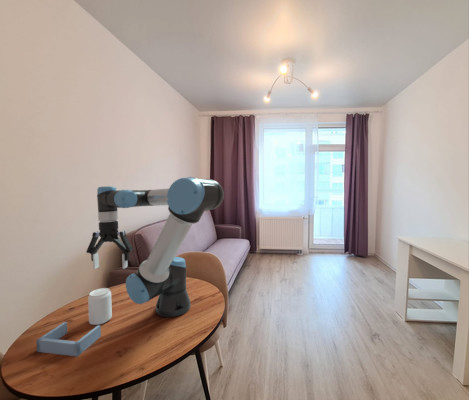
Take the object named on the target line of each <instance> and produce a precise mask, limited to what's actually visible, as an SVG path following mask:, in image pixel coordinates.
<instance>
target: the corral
mask: <svg viewBox="0 0 469 400" xmlns="http://www.w3.org/2000/svg"><path fill="white" fill-rule="evenodd" d="M101 328H102V327H101V324H99V325H95V327H94V328H93V329H91V330H90V331H88V332H87V333H86V334H85V335H83V336H82V337H81V338H80V339H78V340H77V341H75V340H66V339H61V338H62V337H64V336H65V335H66V334H67V333H68V322H65V321H64V322H62V323H61V324H59V325H57V326H56V327H55V328H53V329H51V330H50V331H48V332H46V333H45V334H44V335H42V336H40V337H39V338H37V339H36V340H35V341H36V342H35V343H36V352H37V353H47V354H52V355H53V354H54V355H62V356H71V357H77V358H78V357H79V356H80V355H81V354H82V353H83V352H85V351H86V350H87V349H88V348H89V347H91V346H92V345H93V344H94V343H95V342H96V341H97V340H99V339H100V338H101V337H102V330H101Z"/></svg>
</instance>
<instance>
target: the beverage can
mask: <svg viewBox="0 0 469 400" xmlns="http://www.w3.org/2000/svg"><path fill="white" fill-rule="evenodd" d="M87 301H88V303H87V305H88V306H87V307H88V308H87V309H88V323H89V324H90V325H93V326H97V325H103V324H105V323H106V322H108V321H109V320H111V319H112V317H113V310H112V309H113V308H112V307H113V305H112V291H111V289H110V288H107V287H102V288H97V289H94V290H92V291H90V292H89V295H88V297H87Z"/></svg>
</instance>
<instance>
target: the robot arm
mask: <svg viewBox="0 0 469 400" xmlns="http://www.w3.org/2000/svg"><path fill="white" fill-rule="evenodd" d="M96 189H97V192H96V199H97V200H96V201H97V212H98V213H97V217H98V219H97V220H98V230H99V231H94V232H92V235H91V236H92V237H91V240H90V242H89V245H88V247H87V248H86V254H90V258H91V261H92V268H93V270H95V269H97V268H99V267H100V261H99V260H100V259H99V258H100V257H99V256H100V255H99V252H98V251H99V250H100V248H101V247H102V246H103V244H104V243H107V242H109V243H114V244H115V245H116V246H117V247H118V248H119V250H120V251H121V252H122V254H121V259H122V261H121V263H122V270H123V269H124V270H125V269H126V268H128V266H129V265H128V261H129V259H130V253H131V252H132V251H134V248H133V246H132V244H131V243H130V241H129V239H128V236H127V234H126V231H125V230H122V231H119V221H118V219H119V215H118V209H129V208H139V207H153V206H154V207H155V206H157V207H158V206H167V209H168V212H169V215H168V217H167V219H166V220H165V222H164V225H163V226H162V227H163V228H162V229H161V231H160V233H159V235H158V238H157V239H156V241H155V244H154V246H153V247H152V250H151V252H150V254H149V256H148V258H147V259H145V260H143V261H142V262H141V263H140V264H139V266H138V269H137V270H136V272H134V273H131V274H130V275H128V276H127V277H126V279H125V290H126V293H127V294H128V297H129V299H130V300H131V301H132V302H133V303H135V304H139V305H143V304H145V303H147V302H149V301H151V300H152V299H154V298H157V297H158V298H157V300H156V303H155V313H156V315H158V316H159V317H163V318H175V317H178V316H181V315H183V314H186V313H187V312H188V311H190V309H191V299H190V296H189V293H188V291H187V264H186V259H185V258H183V257H181V256H177V254H178V251H179V250H180V247H181V246H182V243H183V242H184V241H185V239H186V237H187V235H188V233H189V231H190V229H191V227H192V225H194V224H197V223H199V222H200V221H201V220H200V219H201V218H202V216H203V214H204V213H205V212H206V211H207V212H208V211H211V210H215V209H217V208H218V207H220V205H221V204H222V203H223V201H224V199H225V191H224V189H223V187H222V185H221V184H220V183H219V182H218V181H216V180H214V179H210V178H199V177H192V176H188V177H187V176H186V177H181V178H178V179H176V180H175V181H173V182H172V183H171V185H169V188H159V189H158V188H157V189H146V190H145V189H141V190H138V189H137V190H135V189H133V190H132V189H120V190H117V187H116V186H110V185H109V186H99V187H97V188H96ZM99 237H100V239H99ZM98 239H99V240H98Z"/></svg>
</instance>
